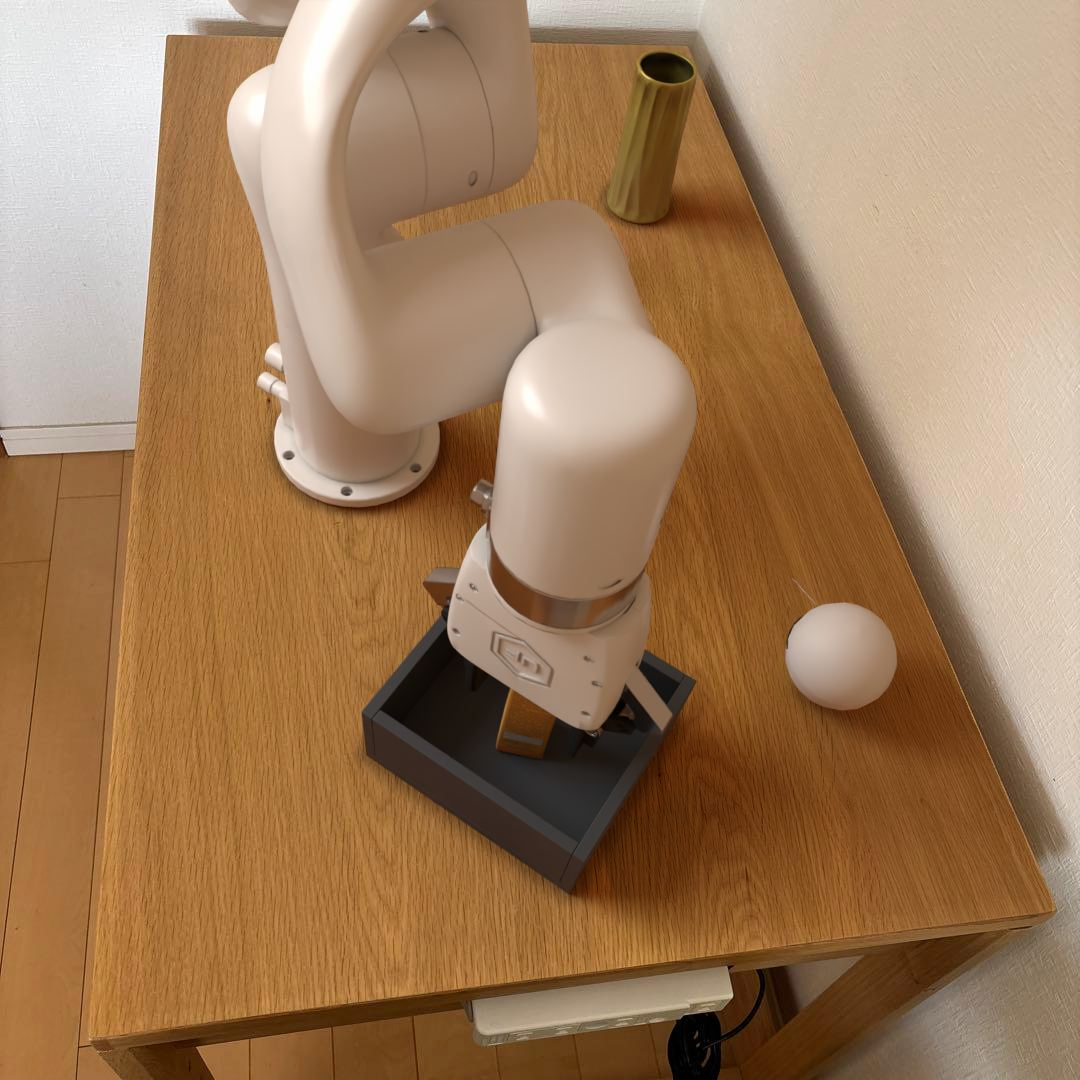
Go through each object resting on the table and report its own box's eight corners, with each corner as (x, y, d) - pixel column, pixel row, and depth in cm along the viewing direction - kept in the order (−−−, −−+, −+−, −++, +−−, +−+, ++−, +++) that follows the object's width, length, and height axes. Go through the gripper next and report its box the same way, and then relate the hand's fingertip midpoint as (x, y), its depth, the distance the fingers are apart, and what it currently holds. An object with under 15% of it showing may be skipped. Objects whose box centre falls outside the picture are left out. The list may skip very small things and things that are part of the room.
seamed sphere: (890, 717, 72) (935, 671, 65) (793, 736, 70) (829, 691, 64) (837, 594, 77) (873, 541, 71) (745, 609, 75) (774, 556, 69)
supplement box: (546, 763, 66) (565, 699, 58) (494, 751, 66) (505, 686, 58) (556, 716, 68) (575, 648, 60) (505, 705, 68) (518, 635, 60)
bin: (365, 755, 66) (360, 711, 60) (484, 606, 73) (490, 554, 67) (568, 894, 63) (584, 862, 57) (673, 724, 70) (697, 680, 64)
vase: (679, 200, 100) (715, 64, 88) (649, 234, 97) (681, 97, 85) (625, 174, 101) (653, 36, 89) (594, 206, 98) (618, 68, 86)
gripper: (370, 512, 48) (381, 675, 63) (689, 709, 44) (621, 833, 59) (462, 414, 52) (452, 590, 67) (764, 588, 48) (682, 734, 63)
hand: (531, 703), depth 63 cm, fingers open, 6 cm apart
